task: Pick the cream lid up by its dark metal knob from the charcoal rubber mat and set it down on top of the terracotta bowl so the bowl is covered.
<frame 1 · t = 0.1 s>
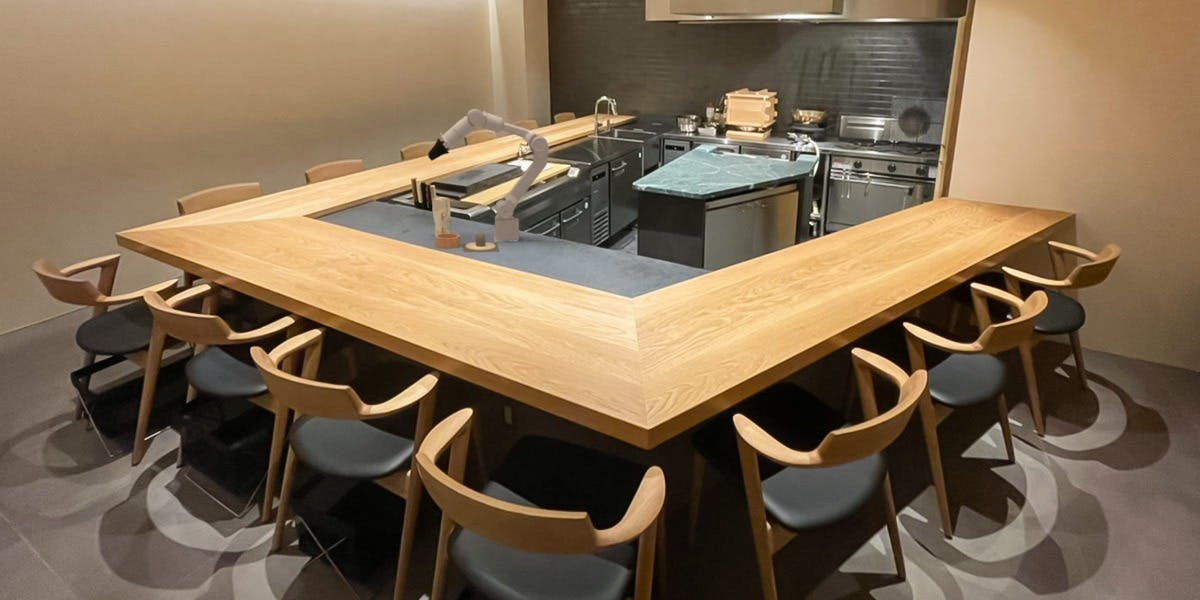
hand: (429, 157, 250), 32 cm above the worktop, tool tilted 50°, fingers open, 7 cm apart
mat: (480, 248, 252), on the worktop
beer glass: (442, 236, 269), on the worktop
bowl: (447, 246, 253), on the worktop
lid: (480, 247, 252), resting on mat
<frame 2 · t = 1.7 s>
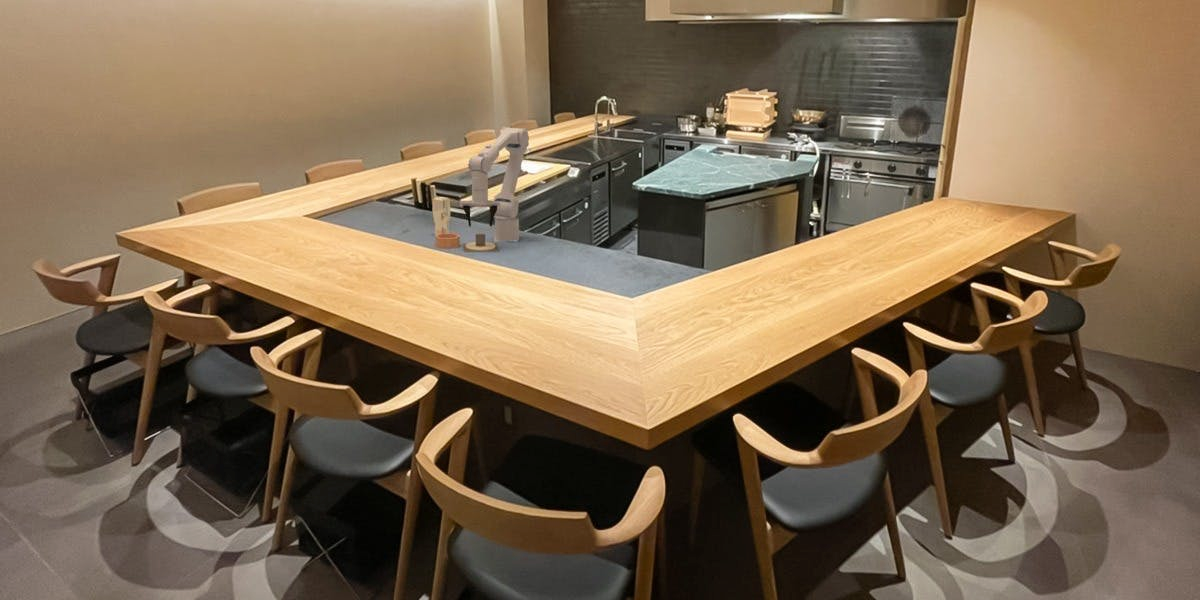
hand: (480, 225, 249), 9 cm above the worktop, tool pointing down, fingers open, 7 cm apart
nothing on the worktop moved.
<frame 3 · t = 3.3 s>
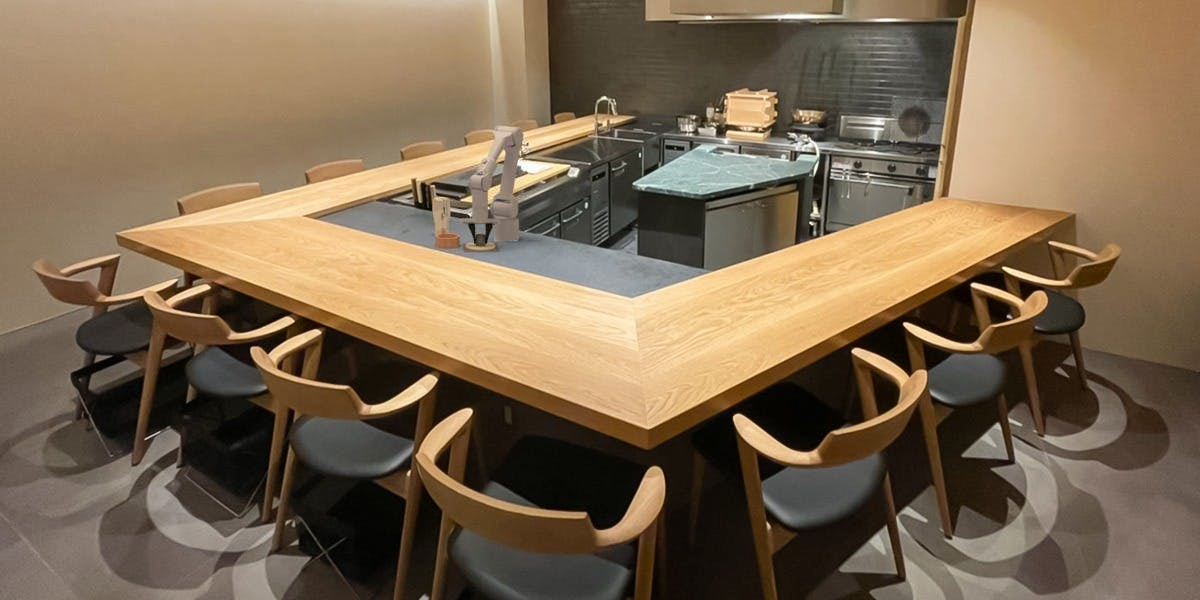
hand: (480, 243, 251), 2 cm above the worktop, tool pointing down, fingers closed on lid, 4 cm apart
lid: (480, 247, 252), resting on mat, touching gripper
everything else where it was.
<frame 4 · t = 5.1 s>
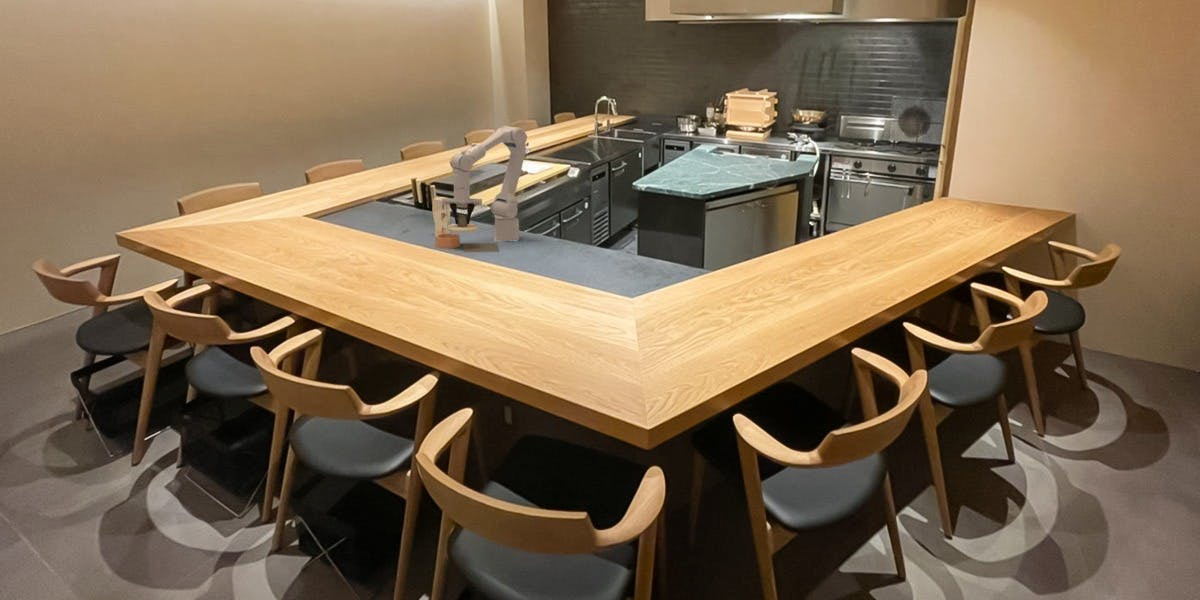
hand: (462, 223, 250), 9 cm above the worktop, tool pointing down, fingers closed on lid, 4 cm apart
lid: (462, 228, 250), point 7 cm above the worktop, touching gripper
everything else where it was.
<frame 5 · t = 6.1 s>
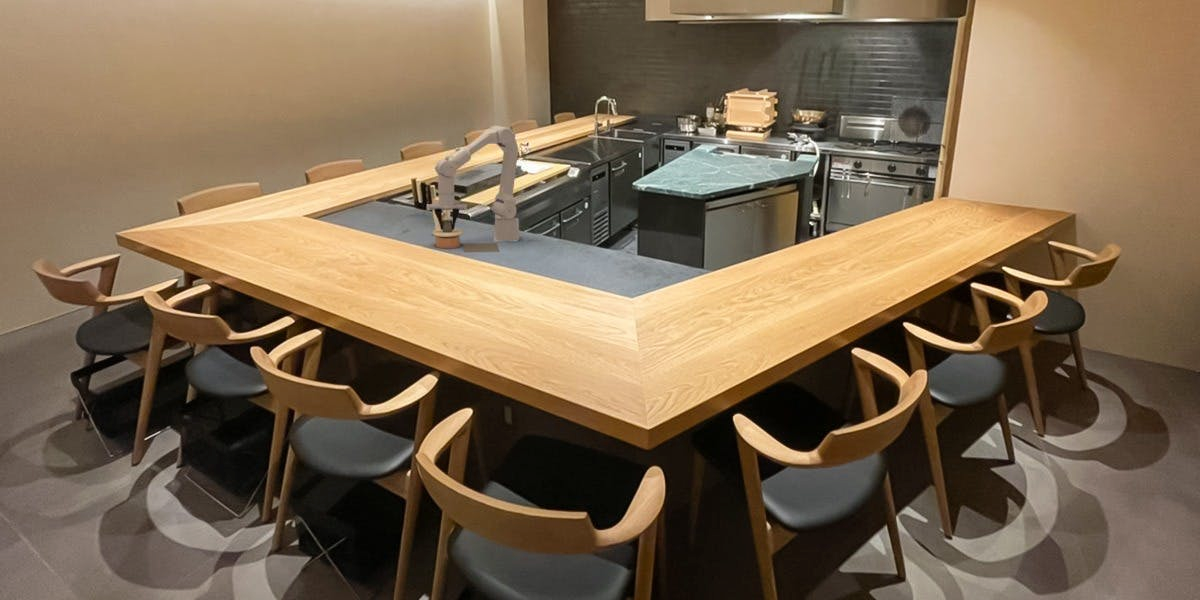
hand: (447, 229, 251), 7 cm above the worktop, tool pointing down, fingers closed on lid, 4 cm apart
lid: (447, 233, 251), point 5 cm above the worktop, touching gripper
everything else where it was.
when the fingers open (7 cm above the worktop, at t = 6.8 s): lid stays where it is, resting on bowl.
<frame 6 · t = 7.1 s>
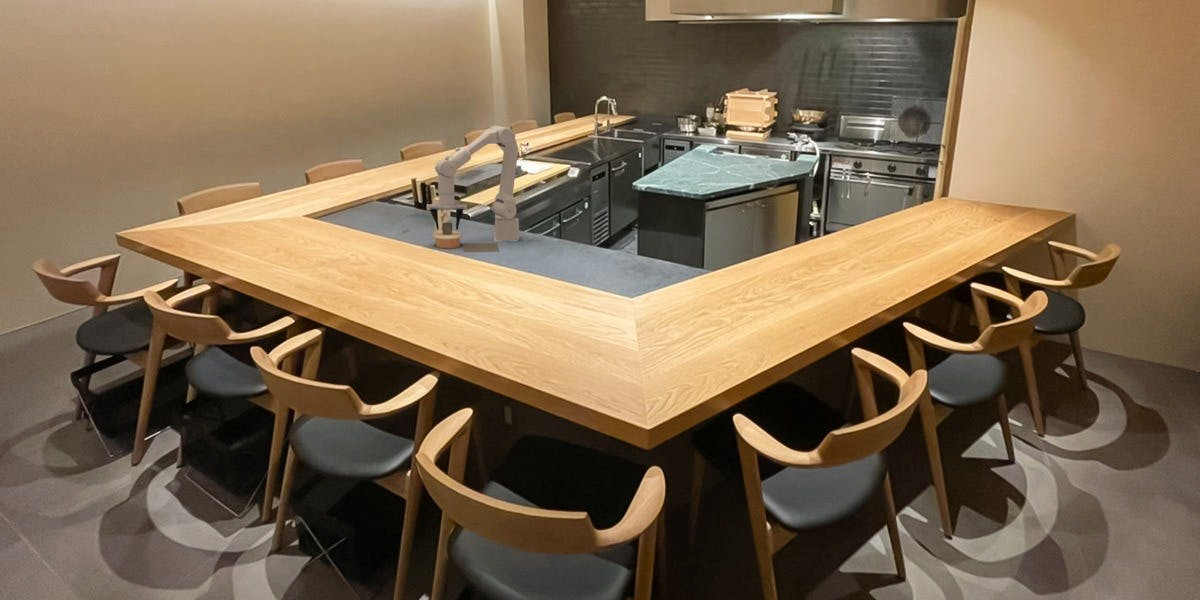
hand: (447, 229, 251), 7 cm above the worktop, tool pointing down, fingers open, 6 cm apart
bowl: (447, 246, 253), on the worktop, touching lid
lid: (447, 235, 252), point 4 cm above the worktop, touching bowl
everything else where it was.
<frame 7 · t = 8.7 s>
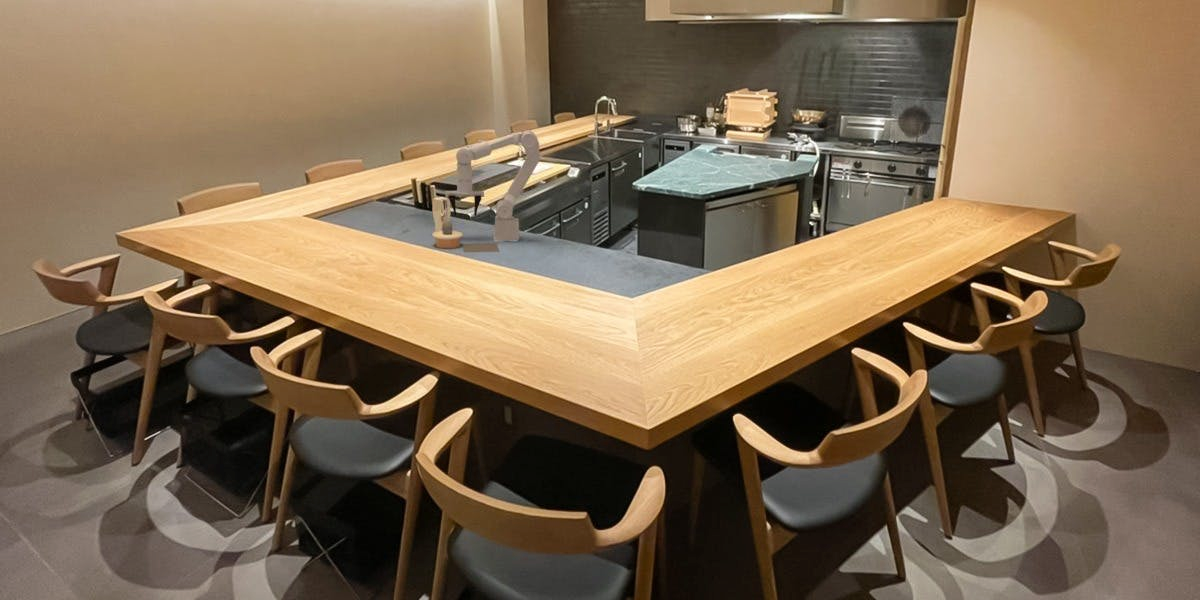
hand: (465, 215, 261), 10 cm above the worktop, tool pointing down, fingers open, 7 cm apart
nothing on the worktop moved.
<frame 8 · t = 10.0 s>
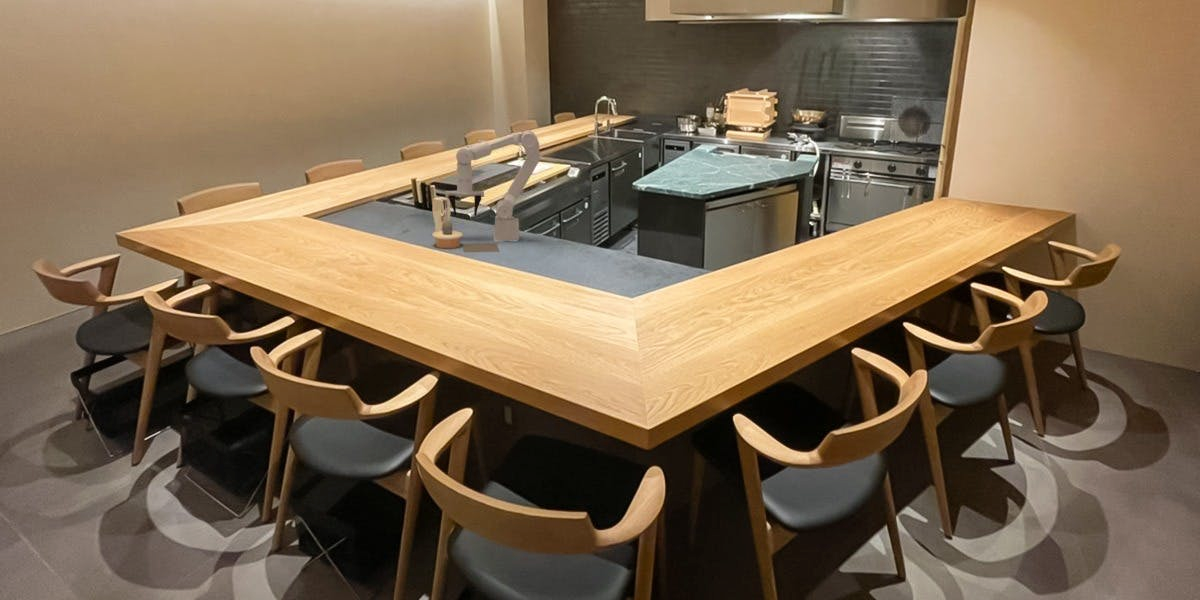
hand: (465, 215, 261), 10 cm above the worktop, tool pointing down, fingers open, 7 cm apart
nothing on the worktop moved.
at the end: lid 0.1 cm off-centre on the bowl, point 4.0 cm above the bowl's base; lid tilted 0°; lid touching bowl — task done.
